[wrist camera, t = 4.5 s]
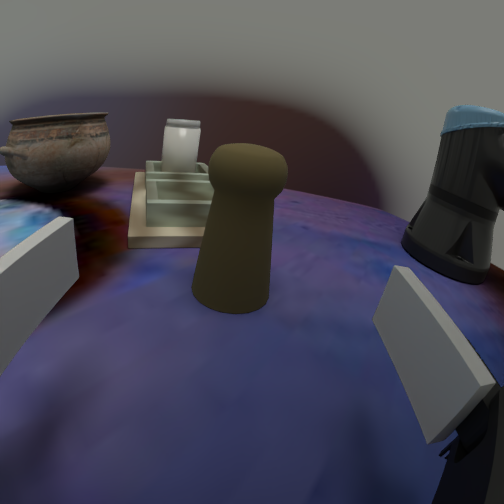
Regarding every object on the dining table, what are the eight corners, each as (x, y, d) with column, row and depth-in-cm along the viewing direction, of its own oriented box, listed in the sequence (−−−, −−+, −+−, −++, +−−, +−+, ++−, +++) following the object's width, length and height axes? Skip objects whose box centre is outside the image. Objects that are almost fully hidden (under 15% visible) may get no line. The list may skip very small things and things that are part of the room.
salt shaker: (191, 178, 50) (198, 120, 45) (196, 187, 45) (204, 122, 41) (159, 178, 48) (165, 118, 43) (160, 186, 43) (167, 119, 39)
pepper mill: (247, 267, 27) (268, 143, 22) (283, 305, 22) (317, 158, 18) (181, 274, 24) (193, 136, 19) (207, 320, 19) (227, 148, 15)
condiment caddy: (208, 180, 55) (211, 161, 54) (265, 246, 31) (271, 213, 30) (135, 178, 50) (136, 158, 49) (128, 248, 26) (127, 211, 25)
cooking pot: (63, 169, 52) (65, 113, 47) (135, 176, 52) (140, 112, 47) (-25, 205, 30) (-29, 127, 25) (47, 219, 29) (45, 117, 24)
